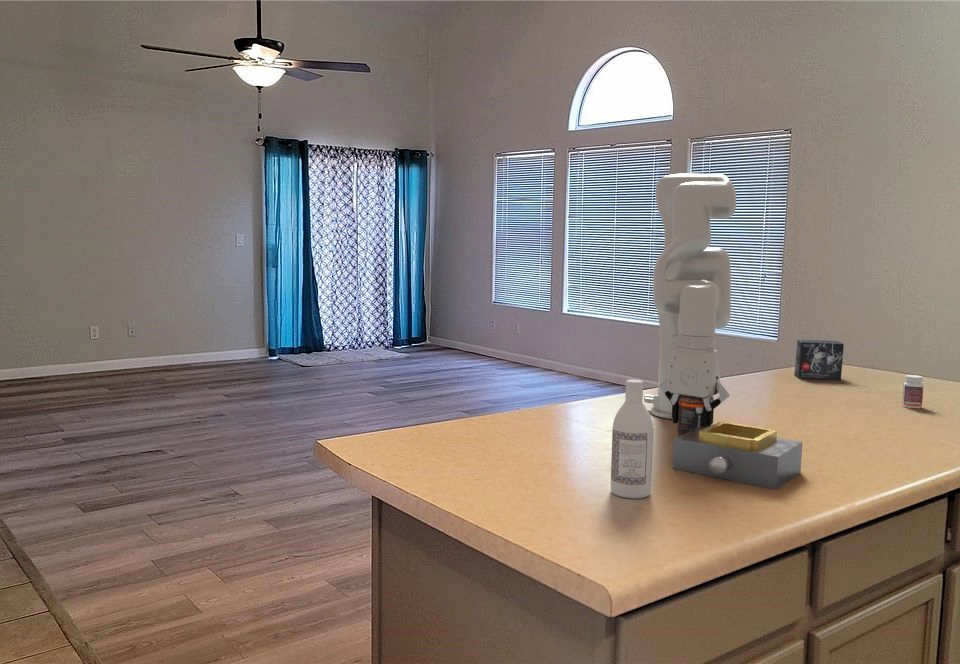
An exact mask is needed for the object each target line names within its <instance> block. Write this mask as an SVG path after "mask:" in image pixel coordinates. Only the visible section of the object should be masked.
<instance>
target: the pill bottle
mask: <svg viewBox="0 0 960 664" xmlns="http://www.w3.org/2000/svg"><path fill="white" fill-rule="evenodd" d="M923 381H924V380H923V376H920V375H913V374H907V375H905V382H904V383H903V386H902V398H901V399H902V400H901V401H902V402H901V403H902V404H901V405H902V407H903V408H908V409H921V408H923V397H924V384H923Z"/></svg>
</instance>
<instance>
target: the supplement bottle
mask: <svg viewBox="0 0 960 664" xmlns="http://www.w3.org/2000/svg"><path fill="white" fill-rule="evenodd" d="M704 410H705V405H704V402H703V398H697V397H691V396H685V395H682V396H681V397H680V399H679V410H678V423H677V428H676V429H677V432H676V433H677V434H676V435H677V437H678V436H680V435H682V434H685V433H687V432H689V431H692V430H694V429H696V428H698V427H701V426H702V421H703V411H704Z"/></svg>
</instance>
